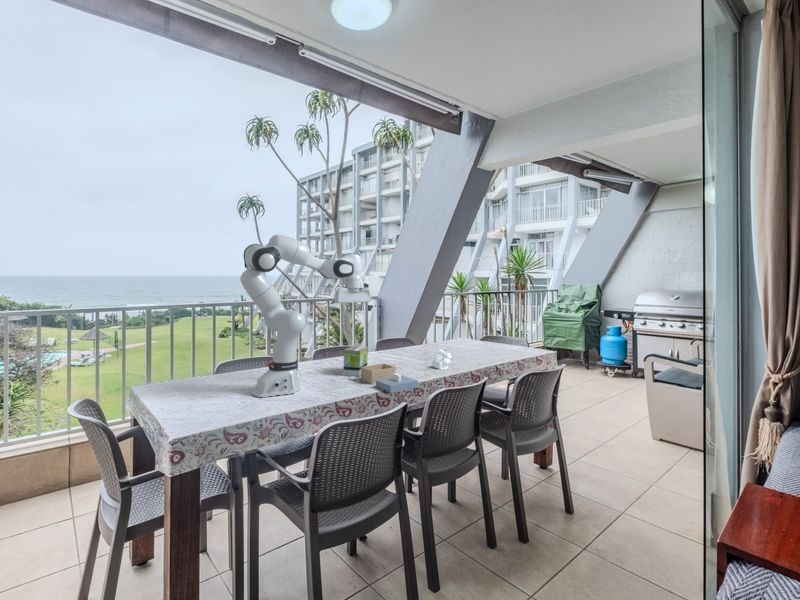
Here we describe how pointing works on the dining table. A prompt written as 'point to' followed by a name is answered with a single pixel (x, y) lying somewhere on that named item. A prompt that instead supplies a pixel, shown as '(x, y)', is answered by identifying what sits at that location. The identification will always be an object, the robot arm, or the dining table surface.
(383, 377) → the mailer box
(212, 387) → the dining table surface
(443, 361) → the rabbit
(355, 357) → the tea box
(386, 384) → the mailer lid
